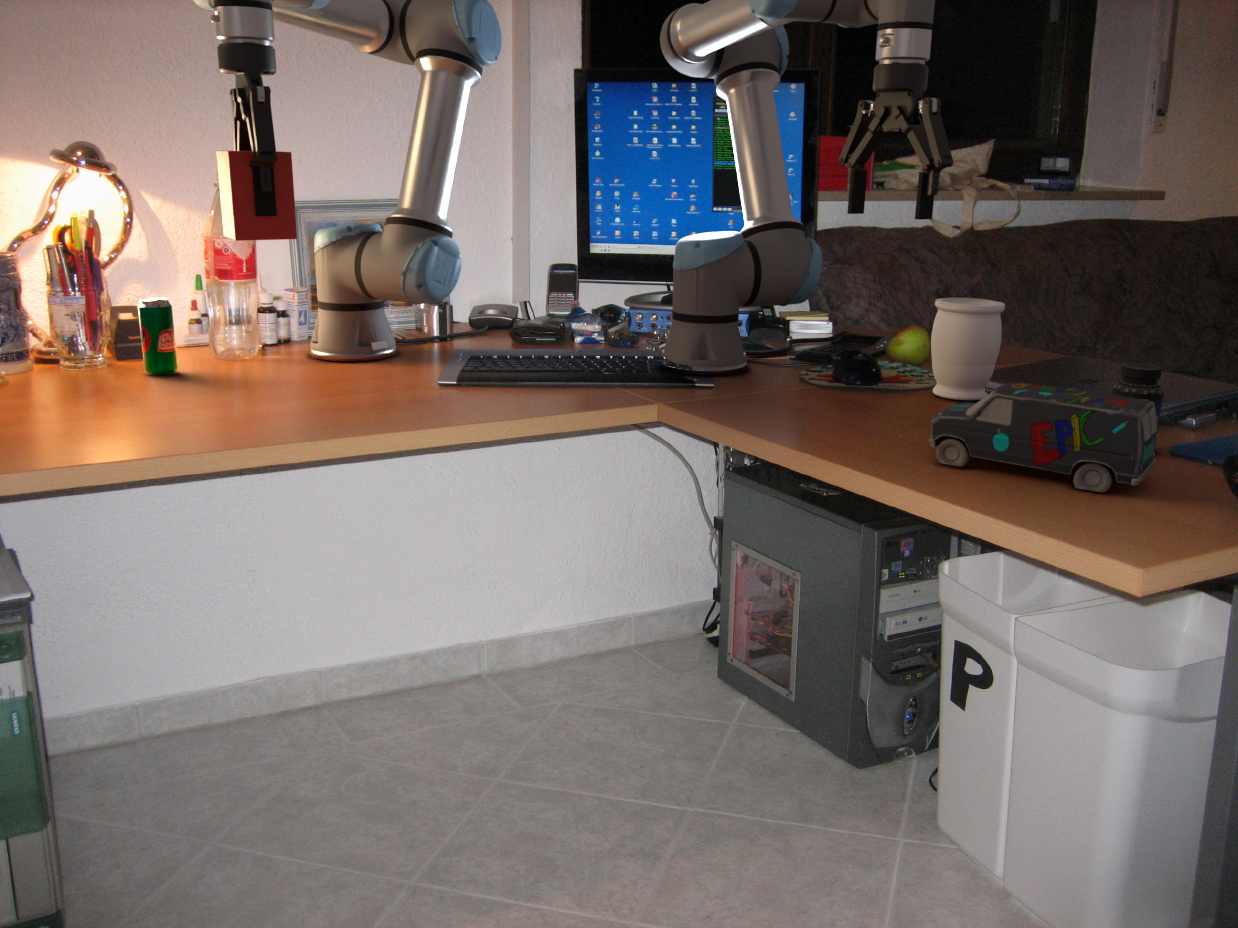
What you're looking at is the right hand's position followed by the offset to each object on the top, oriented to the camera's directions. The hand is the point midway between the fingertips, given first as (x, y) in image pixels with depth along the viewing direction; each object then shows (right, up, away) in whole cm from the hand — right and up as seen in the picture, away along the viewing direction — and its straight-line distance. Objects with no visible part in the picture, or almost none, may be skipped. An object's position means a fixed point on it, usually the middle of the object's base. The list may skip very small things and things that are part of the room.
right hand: (888, 216), depth 158 cm
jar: (+14, -26, +12) cm, 32 cm away
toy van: (+11, -37, -28) cm, 48 cm away
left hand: (-91, -1, -6) cm, 91 cm away
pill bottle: (+27, -35, -17) cm, 47 cm away
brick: (-91, -4, -5) cm, 92 cm away
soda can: (-115, -22, +18) cm, 118 cm away
